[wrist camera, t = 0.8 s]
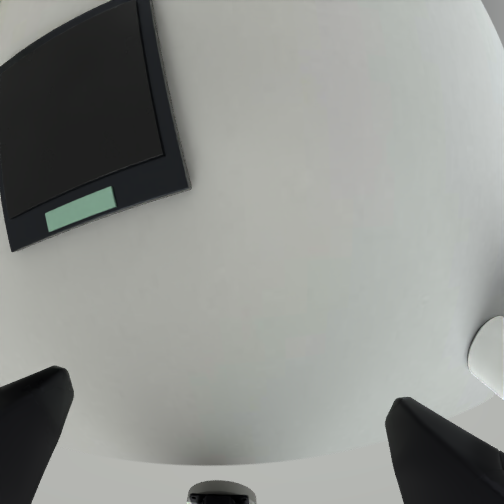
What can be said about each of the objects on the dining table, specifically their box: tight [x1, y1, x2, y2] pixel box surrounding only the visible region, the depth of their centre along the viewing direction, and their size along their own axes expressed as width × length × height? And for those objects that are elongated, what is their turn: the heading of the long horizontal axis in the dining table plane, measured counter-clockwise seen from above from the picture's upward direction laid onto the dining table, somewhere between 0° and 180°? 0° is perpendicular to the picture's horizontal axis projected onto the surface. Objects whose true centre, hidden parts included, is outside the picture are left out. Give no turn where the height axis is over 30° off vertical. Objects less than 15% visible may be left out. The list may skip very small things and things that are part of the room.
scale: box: [0, 0, 192, 252], centre depth 17 cm, size 18×16×2 cm
